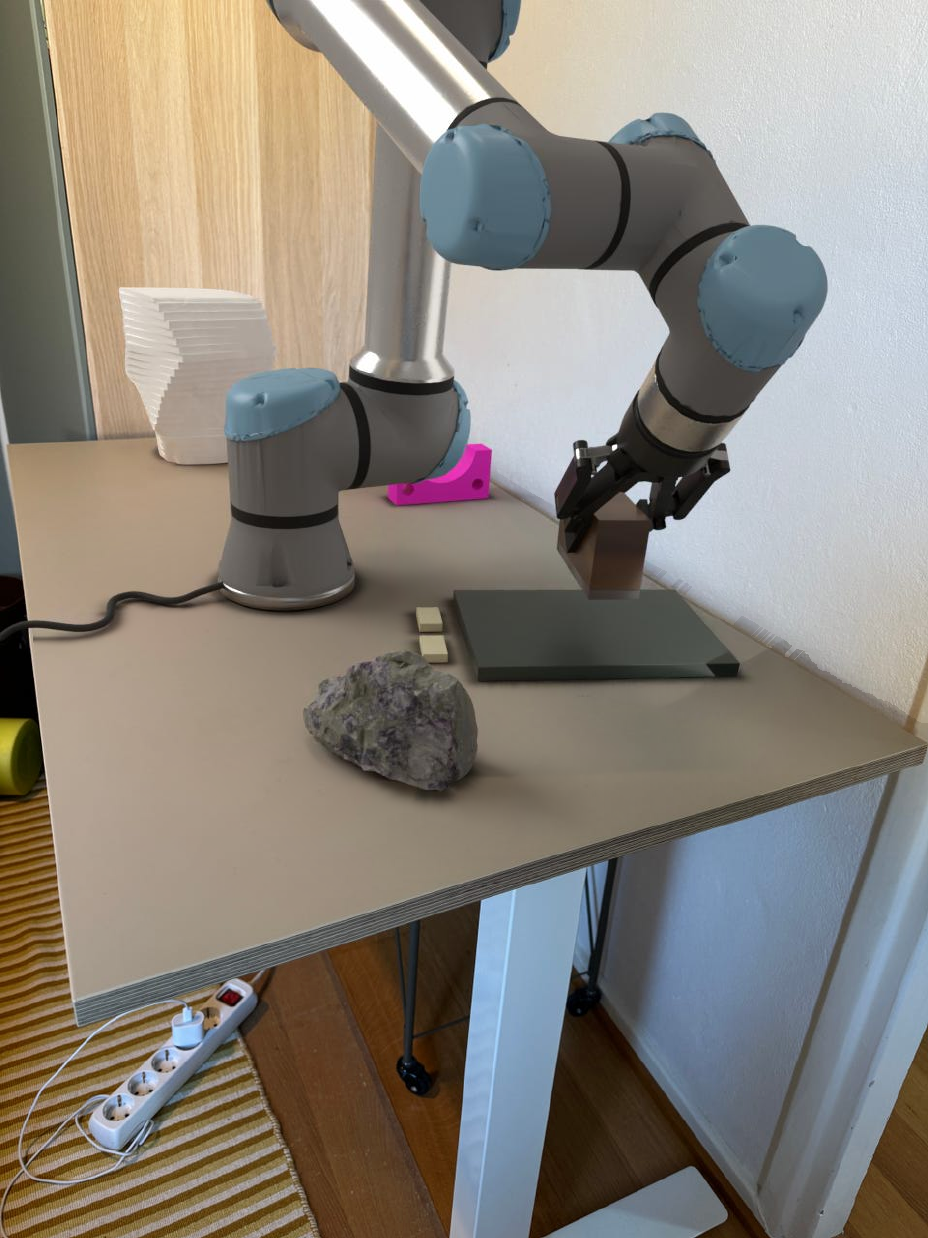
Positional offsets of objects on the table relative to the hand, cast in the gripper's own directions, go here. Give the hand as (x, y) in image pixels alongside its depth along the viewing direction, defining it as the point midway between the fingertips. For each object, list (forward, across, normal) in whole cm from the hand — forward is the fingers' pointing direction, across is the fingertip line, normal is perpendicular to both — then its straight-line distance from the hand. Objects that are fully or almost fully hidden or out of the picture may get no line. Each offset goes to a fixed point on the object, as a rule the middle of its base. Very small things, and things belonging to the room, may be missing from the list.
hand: (596, 540), depth 88 cm
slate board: (+7, 0, +8) cm, 11 cm away
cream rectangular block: (+9, +16, +5) cm, 19 cm away
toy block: (+41, +11, -26) cm, 50 cm away
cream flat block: (+4, +17, +10) cm, 20 cm away
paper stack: (+55, +44, -41) cm, 82 cm away
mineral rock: (-7, +22, +23) cm, 32 cm away
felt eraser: (+2, 0, +3) cm, 3 cm away
